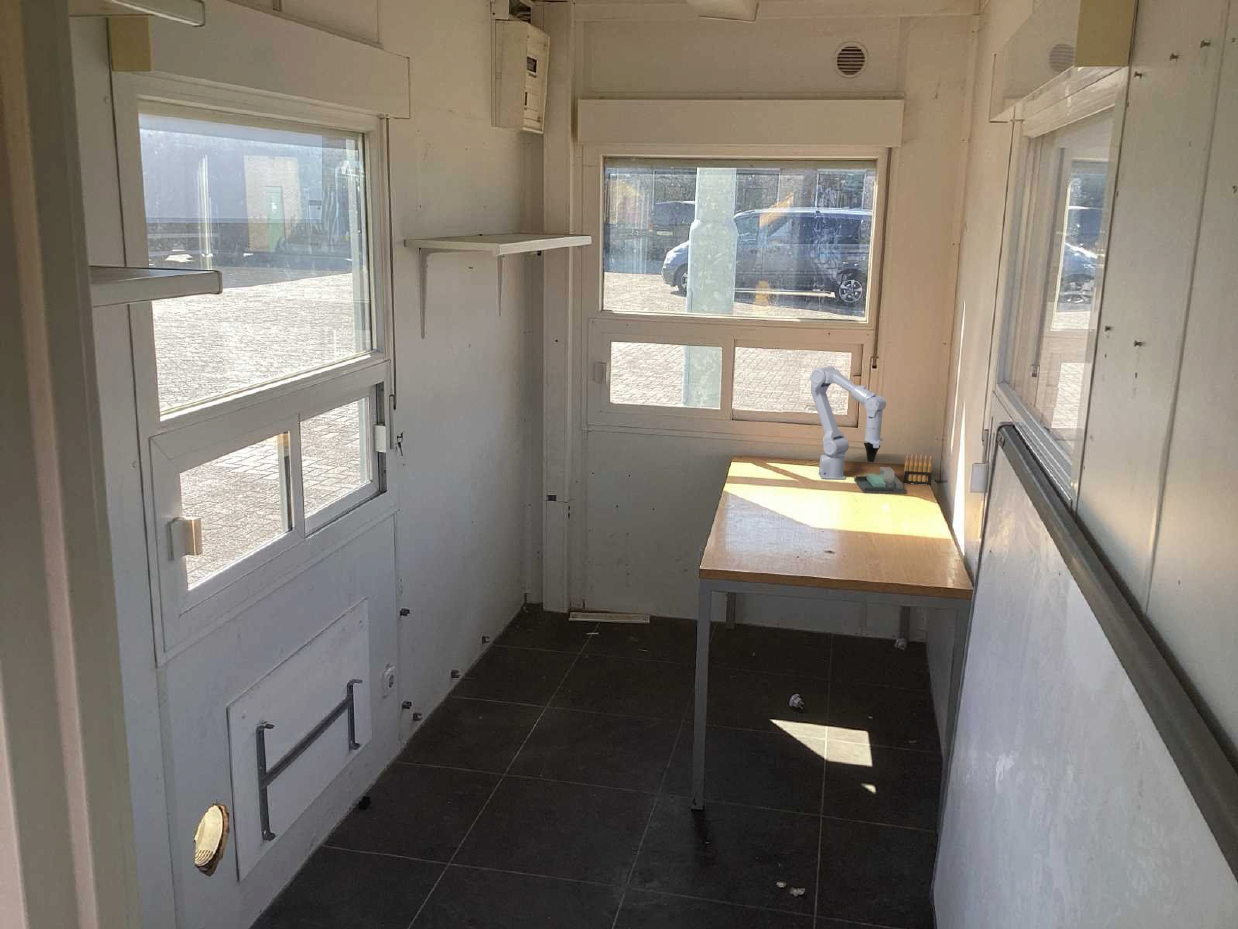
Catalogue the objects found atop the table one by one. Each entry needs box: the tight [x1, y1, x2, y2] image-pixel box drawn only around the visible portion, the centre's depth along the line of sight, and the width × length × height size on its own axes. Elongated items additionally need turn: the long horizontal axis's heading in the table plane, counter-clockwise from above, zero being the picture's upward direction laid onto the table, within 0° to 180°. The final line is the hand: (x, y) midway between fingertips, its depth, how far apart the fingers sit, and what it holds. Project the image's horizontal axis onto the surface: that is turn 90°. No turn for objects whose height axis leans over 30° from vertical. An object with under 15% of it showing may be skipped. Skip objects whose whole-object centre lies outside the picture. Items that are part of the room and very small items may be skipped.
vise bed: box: [853, 474, 907, 495], centre depth 417 cm, size 16×18×3 cm
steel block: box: [878, 466, 896, 487], centre depth 417 cm, size 4×7×6 cm, turn 0°
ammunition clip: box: [902, 453, 933, 486], centre depth 422 cm, size 11×2×12 cm, turn 81°
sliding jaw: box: [866, 473, 886, 487], centre depth 417 cm, size 4×14×2 cm, turn 0°
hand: (870, 461), depth 418 cm, fingers closed
